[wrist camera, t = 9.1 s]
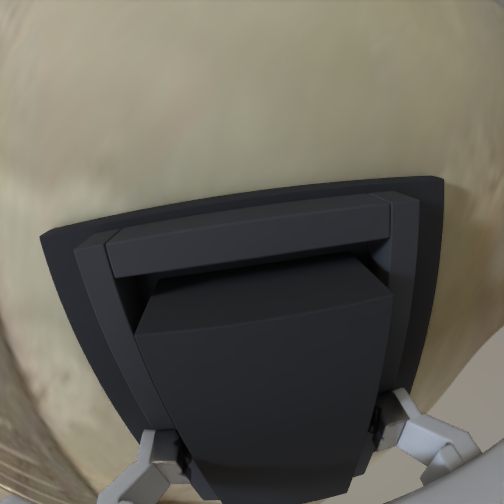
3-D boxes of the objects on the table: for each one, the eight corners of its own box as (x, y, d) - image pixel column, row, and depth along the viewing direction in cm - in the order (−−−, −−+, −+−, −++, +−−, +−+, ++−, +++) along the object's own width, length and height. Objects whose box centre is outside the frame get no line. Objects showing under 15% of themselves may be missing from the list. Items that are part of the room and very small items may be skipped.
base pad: (49, 229, 9) (13, 252, 7) (432, 175, 9) (473, 186, 7) (170, 472, 14) (167, 501, 12) (385, 437, 15) (397, 463, 13)
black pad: (158, 278, 9) (132, 335, 6) (348, 250, 9) (395, 294, 6) (226, 468, 13) (228, 512, 10) (333, 450, 13) (347, 492, 10)
